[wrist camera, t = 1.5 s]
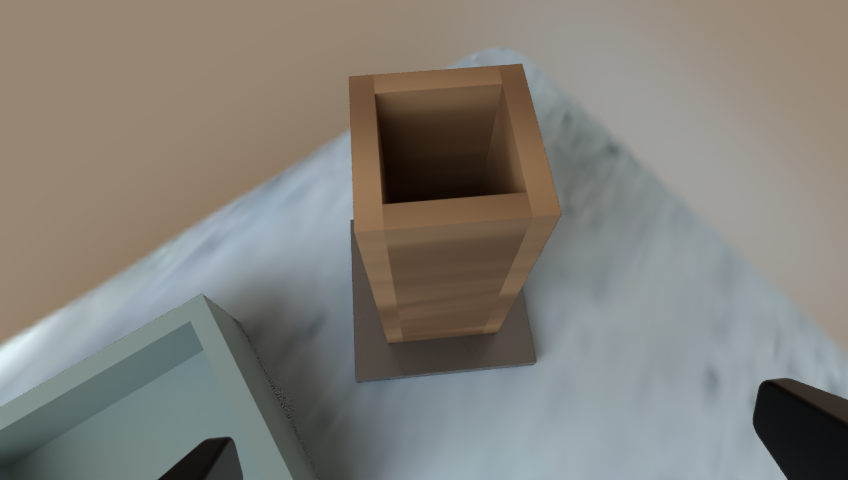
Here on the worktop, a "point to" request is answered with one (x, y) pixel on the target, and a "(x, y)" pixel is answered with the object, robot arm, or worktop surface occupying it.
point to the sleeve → (448, 196)
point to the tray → (153, 407)
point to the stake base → (430, 340)
